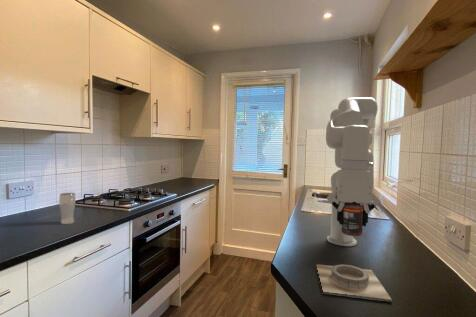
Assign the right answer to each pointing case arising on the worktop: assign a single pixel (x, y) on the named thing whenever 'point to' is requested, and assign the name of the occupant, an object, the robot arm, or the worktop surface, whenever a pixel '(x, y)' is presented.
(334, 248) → the worktop surface
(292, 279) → the worktop surface
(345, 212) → the supplement bottle
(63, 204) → the beer glass
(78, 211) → the worktop surface
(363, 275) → the collar board
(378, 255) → the worktop surface
